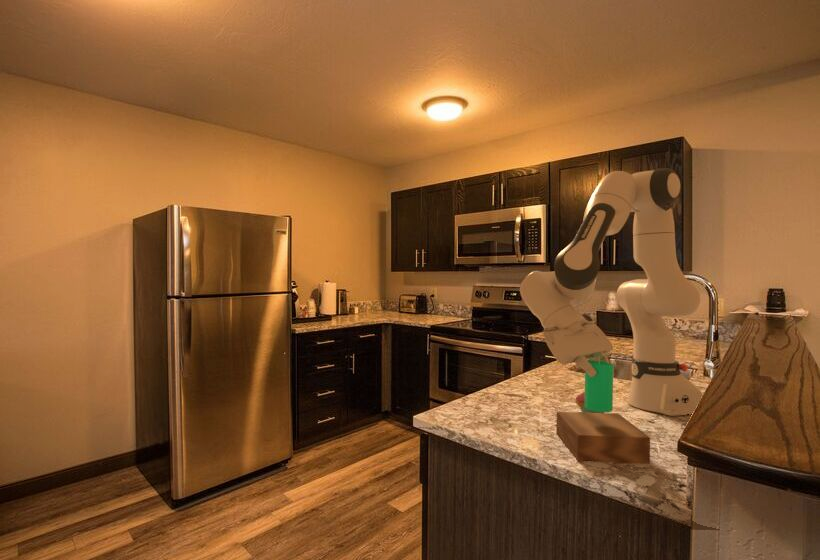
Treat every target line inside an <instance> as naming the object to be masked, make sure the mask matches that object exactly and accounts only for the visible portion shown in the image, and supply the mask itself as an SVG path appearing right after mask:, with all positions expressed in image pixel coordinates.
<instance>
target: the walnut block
mask: <svg viewBox="0 0 820 560" xmlns="http://www.w3.org/2000/svg"><path fill="white" fill-rule="evenodd" d="M555 426H556V433H555V434H556V436H557V435H558V436H557V437H558V438H559V440H560V439H561V440H562V441H561V440H560V441H561V443H562V444H565V445H564V446H565V447H566V448H568V449H569V450H568V449H567V450H568V451H569V452H570V454H571V453H572V454H573V455H572V454H571V455H572V457H573V458H574V457H575V458H576V459H575V458H574V459H575V461H577V462H584V461H591V462H592V461H593V462H592V463H610V462H615V463H614V464H636V463H637V465H638V464H639V463H640V464H642V465H643V464H644V465H650V462H651V459H650V458H651V437H650V436H649V435H648V434H647V433H645V432H643V431H642V430H641V429H639V428H638V427H637V426H636V425H635V424H633V423H632V422H630V421H629V420H628V419H626V418H624V417H623V416H622V415H621V414H619V413H614V412H613V413H611V412H604V413H582V411H580V412H576V411H575V412H574V411H556V425H555ZM591 462H590V463H591ZM616 462H617V463H616Z"/></svg>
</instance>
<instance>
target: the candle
mask: <svg viewBox="0 0 820 560" xmlns="http://www.w3.org/2000/svg"><path fill="white" fill-rule="evenodd" d="M586 361H587V362H588V363H590V364H591V365H592V366H593V367H594V368H595V369H596V370H597V371H598V374H597V375H595V376H594V377H590V376H589V375H588V373H587V372H586V371H584V392H585V405H584V407H585V408H587V409H589V410H592V411H597V412H604V413H611V412H613V408H614V407H613V406H614V405H613V403H614V401H613V399H614V398H613V397H614V396H613V395H614V363H610V362H609V363H610V364H609V363H607V362H604V361H600V356H599V361H597V360H596V361H595V360H593V359H588V360H586Z"/></svg>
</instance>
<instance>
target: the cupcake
mask: <svg viewBox="0 0 820 560" xmlns="http://www.w3.org/2000/svg"><path fill="white" fill-rule="evenodd" d="M575 403H576V405H577V406H578V407H579V408H580V412H582V413H605V412H597V411H592V410H589V409H587V408H585V407H584V405H585V391H584V392H582V393H579V394H578V395H577V396H576V397H575Z"/></svg>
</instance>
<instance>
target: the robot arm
mask: <svg viewBox="0 0 820 560" xmlns="http://www.w3.org/2000/svg"><path fill="white" fill-rule="evenodd" d="M681 187H682V184H681V179H680V176H679V174H678V173H677V172H676V171H675V170H674V169H672V168H667V167H666V168H662V167H661V168H657V169H653V170H645V171H638V172H634V173H632V174H631V173H629V172H626V171H623V170H617V171H616V170H615V171H610V172H609V173H607V174H606V175H605V176H604V177H603V178H602V179H601V180H600V181H599V183H598V185H597V186H596V187H595V189H594V191H593V193H592V194H591V196H590V198H589V201H588V203H587V205H586V208H585V210H584V213H583V214H584V215H583V219H582V223H581V225H580V227H579V228H578V230H577V233H576V235H575V237H574V239H572V241H571V242H570V243H569V244H568V245H567V246H566V247H565V248H563V249H562V250H561V251H560V252H559V253H558V254H557V255H556V257H555V259H554V262H553V269H554V271H539V270H533V271H532V272H530V273H528V274H527V275H526V276H525V278H523V280H522V281H521V283H520V287H519V293H520V294H519V295H520V297H521V298H522V300H523V302H524V303H525V305H526V306H527V307H528V309H529V310H530V312H531V314H533V315H534V316H535V317H536V318H537V319H538V320H539V321H540V323H541V326H542V327H543V330H542V335H543V337H544V338H545V343H546V345H547V347H548V349H549V351H550V352H551V353H552V355H553V357H554V358H555V360H556V361H557V362H558V363H559V364H561V365H568V364H573V363H575V364H576V365H577V366H578V367H579V368H580V369H582V370H583V371H584V372H585V371H586V372H587V373H588V375H589V376H590V377H594V376H595V375H597V374H598V371H597V370H596V369H595V368H594V367H593V366H592V365H591V364H590V363H588V362H587V361H589V360H593V359H595V360H596V362H599V356H600V361H604V362H607V363H609V364H611V363H610V361H609V357H608V354H609V353H610V352H612V351H613V350H614V347H613V344H612V342H611V340H610V339H609V338H608V336H606V334H605V333H604V332H603V330H602V329H601V328H600V327H599V326H598V325H596V324H595V323H596V322H595V319H594V318H593V317H592V316H591V315H588V314H585V313H582V312H580V311H579V310H577V309H575V308H578V307H579V306H581V305H583V304H586V303H587V302H589V301H590V300H591V298H592V297H593V295H594V293H595V288H596V282H597V277H598V274H599V270H600V267H601V261H600V256H599V251H600V249H601V247H602V245H603V242H604V240H605V238H606V236H613V235H616V234H617V233H619V232H620V231H621V230H622V228H623V227H624V225H625V224H626V222H627V220H628V219H629V216H630V213H634V217H633V225H632V235H633V236H632V238H633V239H632V242H633V243H632V244H633V246H632V248H633V251H632V252H633V259H634V262H635V263H636V265H639V266H640V267H641V268H642V270H643V271H644V272H645V276H646V278H645V279H644V278H639V279H637V278H636V279H631V280H629V281H625V282H622V283H621V284H620V285H619V287H618V288H617V291H616V295H615V296H616V301H617V304H618V305H619V306H620V308H621V309H622V310H624V312H625V314H626V315H627V318H628V320H629V323H630V326H631V330H632V336H633V337H632V338H633V356H632V358H631V375H632V377H631V384H630V390H629V393H628V396H627V399H626V403H627V404H628V405H630V406H631V407H635V408H636V409H640V410H644V411H647V412H648V411H649V412H653V413H658V414H662V415H666V416H671V417H672V416H690V415H691V414H692V413H693V411H694V409H695V408H696V406H697V404H698V402H699V401H700V399H701V397H703V393H702V391H701V389H700V388H699V387H698V386H696V384H694V383H693V382H692V381H690V380H689V379H687V378H686V377H685V376H684V375H682V372H681V371H683V372H685V373H686V372H688V371H689V368H690V367H689V366H688V365H687V364H685V363H679V362H677V361H676V336H675V335H674V333H673V332H672V331H671V330H670V329H669V328H668V327H667V326H666V324H665V323H664V322H665V321H664V320H663V317H667V318H668V317H670V318H675V317H676V318H678V317H686V316H691V315H692V314H694V313H695V312H697V310H698V309H699V306H700V302H701V296H700V295H701V294H700V292H699V290H698V288H697V287H696V285H695V284H693V283H692V282H690V281H689V280H688V279H687V277H686V276H685V275H684V273H683V270H682V269H681V267H680V265H679V262H678V258H677V250H676V231H675V226H676V225H675V219H674V214H673V209H672V206H673V205H674V204H675V203H676V201H677V200H678V198H679V196H680V195H681V189H682V188H681ZM687 414H689V415H687ZM691 416H692V415H691Z"/></svg>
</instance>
